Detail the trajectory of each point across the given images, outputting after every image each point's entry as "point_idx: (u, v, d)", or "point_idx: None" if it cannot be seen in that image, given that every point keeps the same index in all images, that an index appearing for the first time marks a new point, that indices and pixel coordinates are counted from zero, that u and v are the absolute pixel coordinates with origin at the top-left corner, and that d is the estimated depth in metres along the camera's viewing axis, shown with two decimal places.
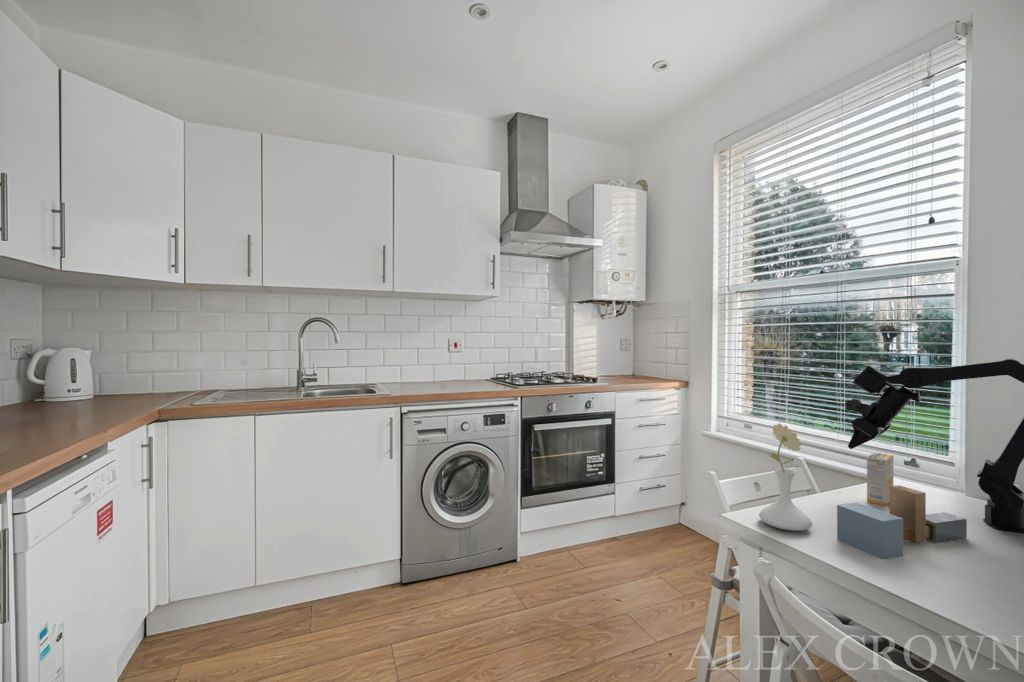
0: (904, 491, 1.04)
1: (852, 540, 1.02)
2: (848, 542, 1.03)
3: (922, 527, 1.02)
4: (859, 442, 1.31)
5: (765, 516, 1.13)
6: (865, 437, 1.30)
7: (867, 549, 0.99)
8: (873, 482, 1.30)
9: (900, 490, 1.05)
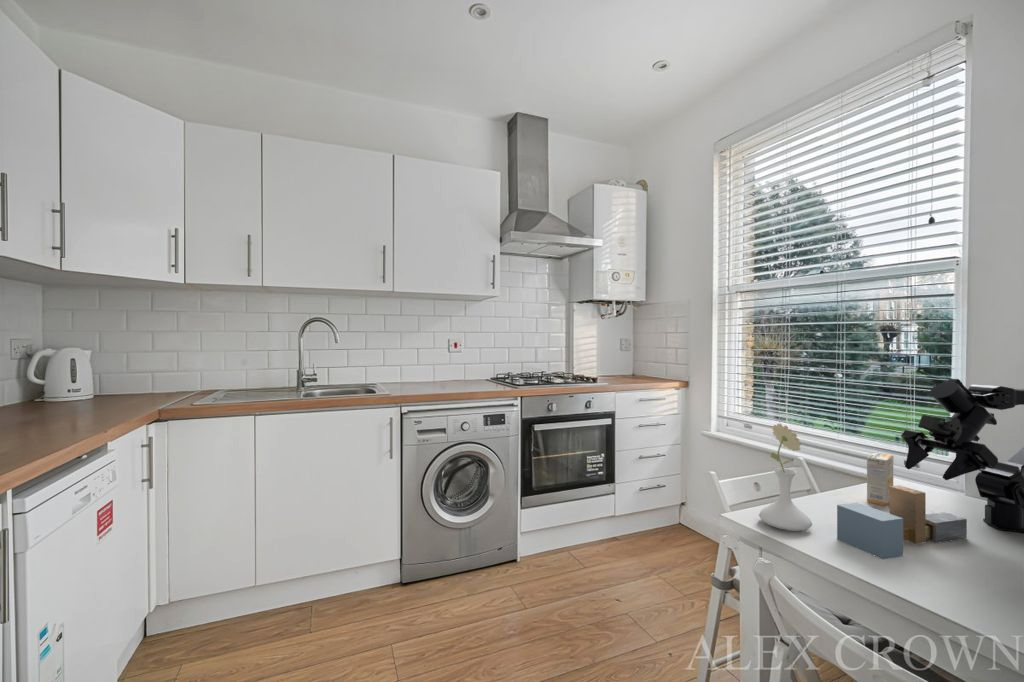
0: (904, 491, 1.04)
1: (852, 540, 1.02)
2: (848, 542, 1.03)
3: (922, 527, 1.02)
4: (959, 472, 1.06)
5: (765, 516, 1.13)
6: (970, 466, 1.05)
7: (867, 549, 0.99)
8: (873, 482, 1.30)
9: (900, 490, 1.05)
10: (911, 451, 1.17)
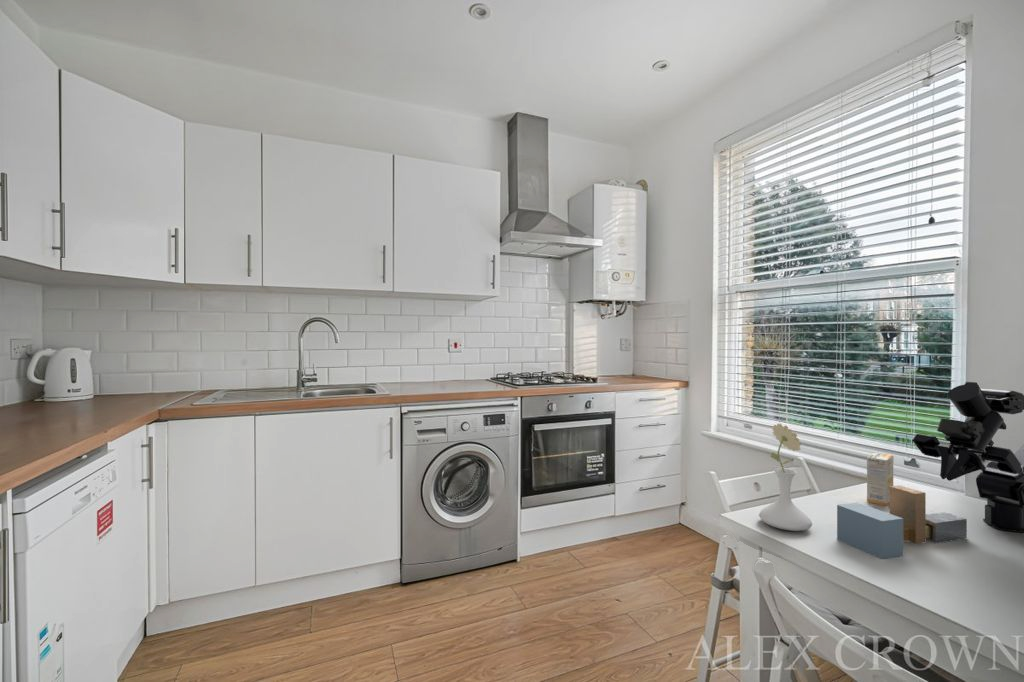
0: (904, 491, 1.04)
1: (852, 540, 1.02)
2: (848, 542, 1.03)
3: (922, 527, 1.02)
4: (961, 473, 1.07)
5: (765, 516, 1.13)
6: (971, 467, 1.07)
7: (867, 549, 0.99)
8: (873, 482, 1.30)
9: (900, 490, 1.05)
10: (945, 460, 1.10)
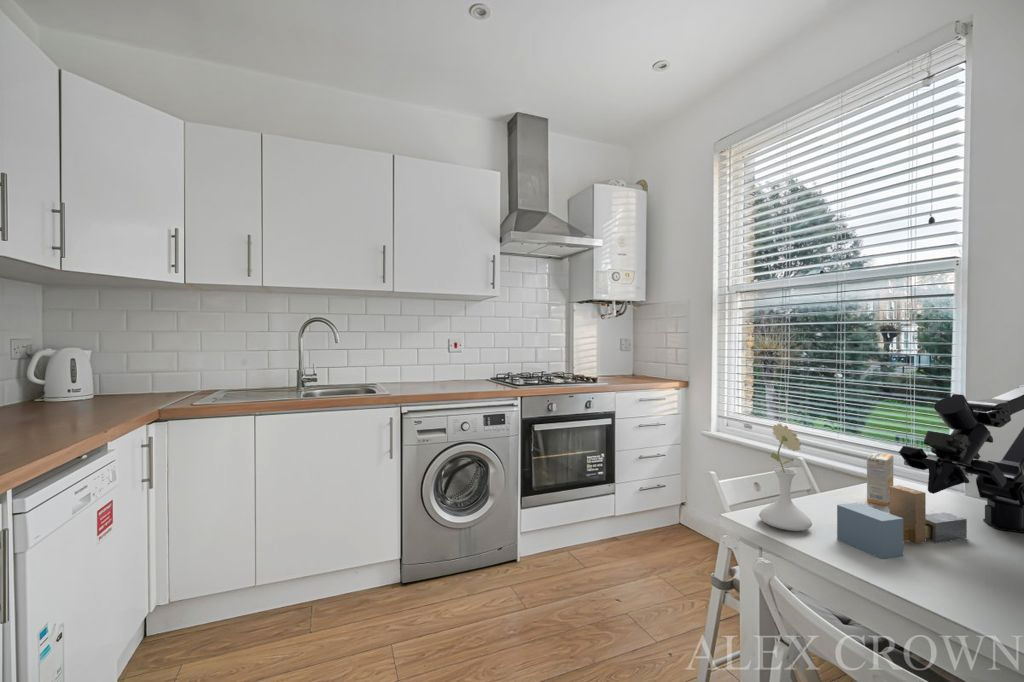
0: (904, 491, 1.04)
1: (852, 540, 1.02)
2: (848, 542, 1.03)
3: (922, 527, 1.02)
4: (945, 486, 1.06)
5: (765, 516, 1.13)
6: (954, 480, 1.06)
7: (867, 549, 0.99)
8: (873, 482, 1.30)
9: (900, 490, 1.05)
10: (932, 473, 1.08)
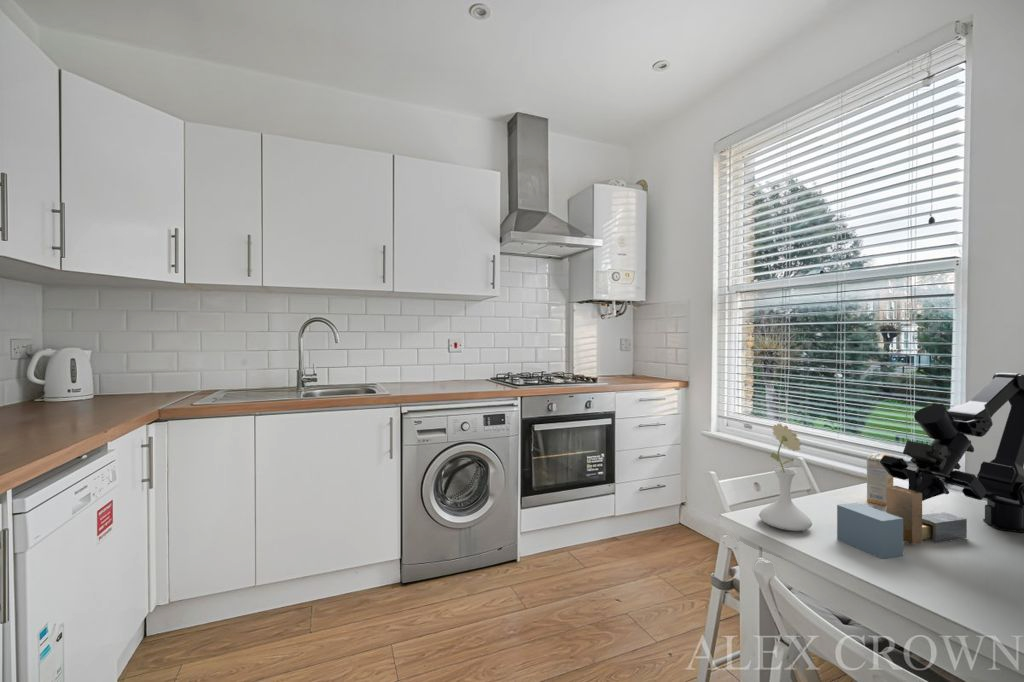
0: (901, 491, 1.04)
1: (852, 540, 1.02)
2: (848, 542, 1.03)
3: (919, 528, 1.02)
4: (924, 497, 1.04)
5: (765, 516, 1.13)
6: (934, 491, 1.04)
7: (867, 549, 0.99)
8: (873, 482, 1.30)
9: (897, 490, 1.04)
10: (912, 484, 1.06)
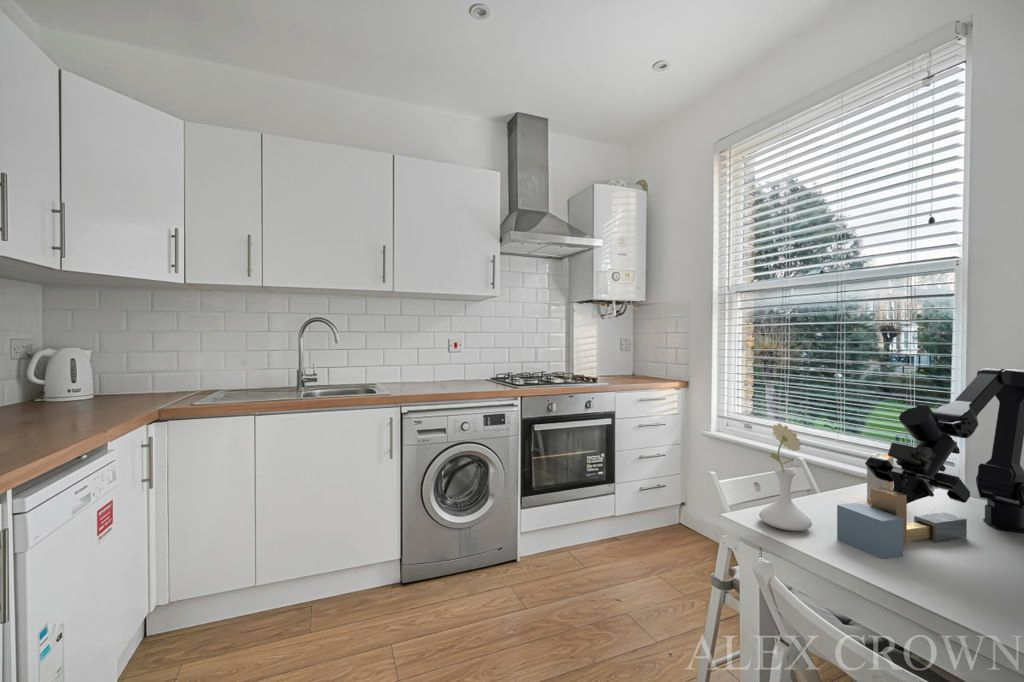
0: (885, 493, 1.02)
1: (852, 540, 1.02)
2: (848, 542, 1.03)
3: (903, 530, 1.01)
4: (909, 499, 1.03)
5: (765, 516, 1.13)
6: (919, 493, 1.03)
7: (867, 549, 0.99)
8: (873, 482, 1.30)
9: (881, 492, 1.03)
10: (897, 486, 1.05)
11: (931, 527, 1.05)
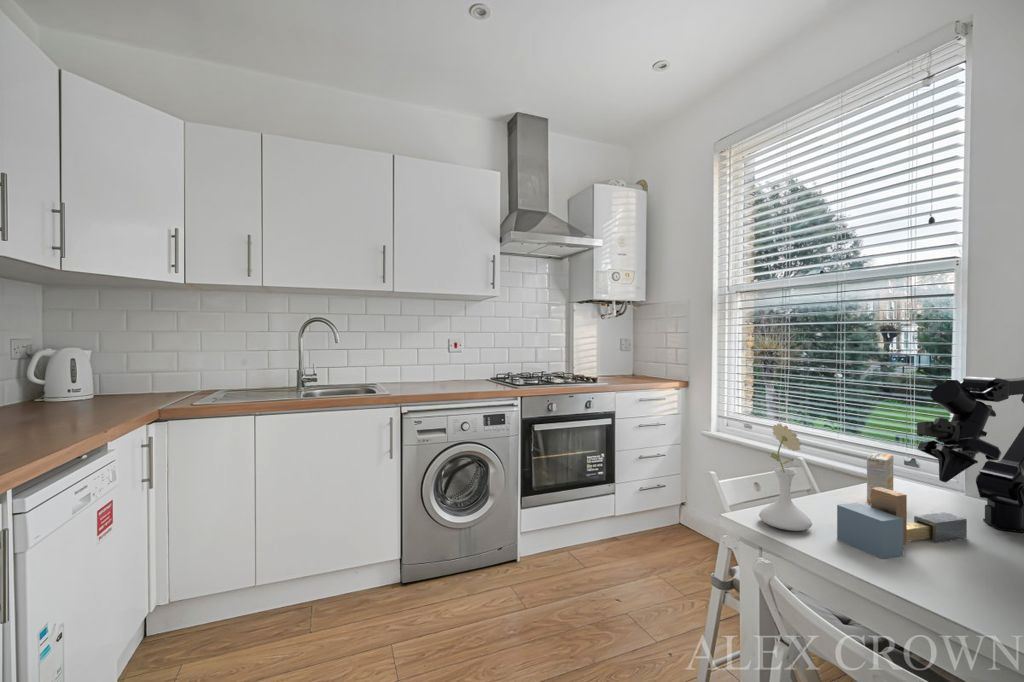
0: (885, 493, 1.02)
1: (852, 540, 1.02)
2: (848, 542, 1.03)
3: (903, 530, 1.01)
4: (955, 471, 1.07)
5: (765, 516, 1.13)
6: (963, 463, 1.07)
7: (867, 549, 0.99)
8: (873, 482, 1.30)
9: (881, 492, 1.03)
10: (941, 462, 1.10)
11: (931, 527, 1.05)
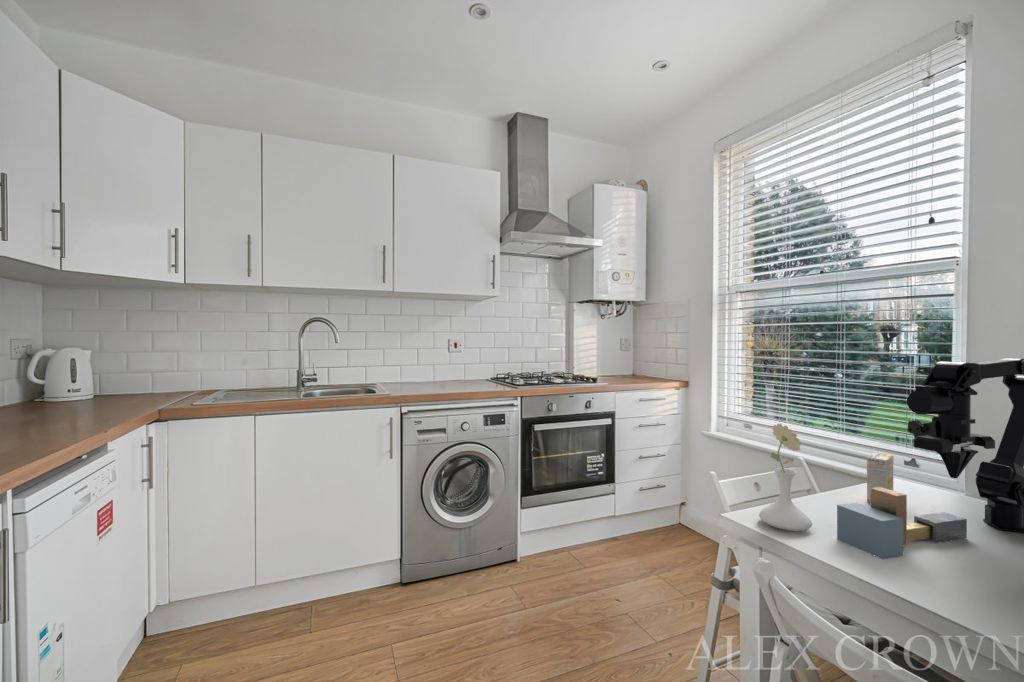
0: (885, 493, 1.02)
1: (852, 540, 1.02)
2: (848, 542, 1.03)
3: (903, 530, 1.01)
4: (955, 466, 1.09)
5: (765, 516, 1.13)
6: (954, 456, 1.09)
7: (867, 549, 0.99)
8: (873, 482, 1.30)
9: (881, 492, 1.03)
10: None
11: (931, 527, 1.05)
